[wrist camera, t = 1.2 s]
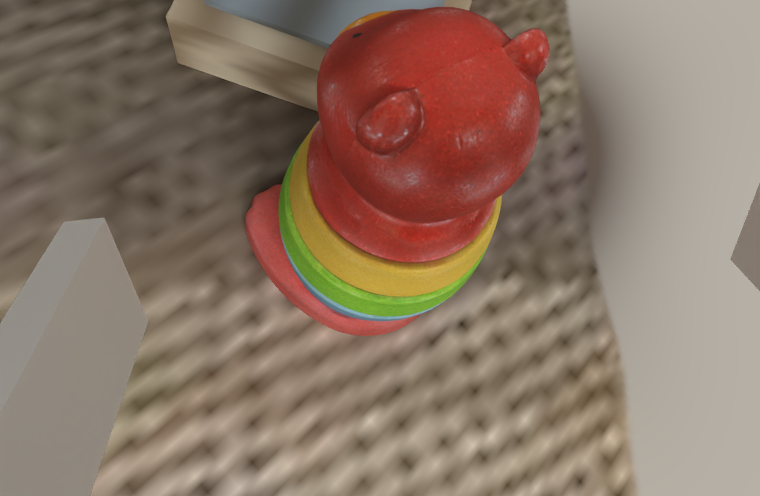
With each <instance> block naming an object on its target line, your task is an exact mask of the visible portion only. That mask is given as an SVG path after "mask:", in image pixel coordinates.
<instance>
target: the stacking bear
mask: <svg viewBox="0 0 760 496" xmlns="http://www.w3.org/2000/svg"><path fill="white" fill-rule="evenodd" d="M548 58H549V43H548V40H547V36H546V35H545V33H544V32H543V31H541V30H540V29H537V28H533V29H529V30H527V31H525V32H523V33H521V34H520V35H518V36H517V37H515V38H514V39H512V40H511V39H510V38H509V37H508V36H507V35H506V34H505V33H504V32H503V31H502V30H501V29H500V28H499V27H497V26H496V25H495V24H494V23H492V22H491V21H489V20H488V19H486V18H485V17H482V16H480V15H478V14H476V13H474V12H471V11H468V10H465V9H460V8H455V7H433V8H426V9H422V10H421V9H404V10H393V11H380V12H375V13H371V14H368V15H366V16H364V17H361V18H359V19H357V20H356V21H354V22H353V23H351V24H349V25H348V26H347V27H346V28H344V29H343V30H342V31H341V32H340V34H339V35H338V36H337V38H336V39H335V40H334V41H333V43H332V44H331V45H330V47H329V48H328V50H327V52H326V54H325V56H324V58H323V60H322V62H321V65H320V69H319V74H318V78H317V105H318V114H319V119H320V120H319V121H318V122H317V123H316V124H315V126H314V127H313V128H312V130H311V131H310V132H309V134H308V135H307V137H306V138H305V140H304V141H303V142H302V143H301V145H300V146H299V148H298V149H297V151H296V153H295V154H294V156H293V158H292V160H291V162H290V164H289V167H288V169H287V171H286V174H285V177H284V180H283V183H282V184H278V185H274V186H272V187H271V188H269V189H268V190H266V191H263V192H261V193H259V194H257V195H255V197H254V198H253V200H252V207H251V208H250V209H249V210H248V211H247V213H246V216H245V229H246V234H247V236H248V239H249V242H250V244H251V247H252V249H253V251H254V253H255V255H256V257H257V259H258V261H259V263H260V264H261V266H262V268H263V269H264V271H265V272H266V274H267V275H268V277H269V278H270V279H271V281H272V282H273V283H274V284H275V285H276V287H277V288H278V289H279V290H280V291H281V292H282V293H283V294H284V295H285V296H286V297H287V298H288V299H289V300H290V301H291V302H292V303H293V304H294V305H296V306H297V307H298V308H299V309H300V310H302V311H303V312H304V313H306V314H307V315H309V316H310V317H312V318H313V319H315V320H317V321H318V322H320V323H322V324H324V325H326V326H328V327H329V328H332V329H334V330H337V331H339V332H343V333H347V334H352V335H360V336H370V335H380V334H385V333H388V332H392V331H395V330H397V329H399V328H401V327H403V326H405V325H407V324H409V323H410V322H412V321H413V320H415V319H416V318H417V317H419V316H420V315H421V314H422V313H424V312H426V311H429V310H431V309H433V308H435V307H436V306H438V305H440V304H441V303H443V302H444V301H446V300H447V299H448V298H449V297H451V296H452V295H453V294H454V293H455V292H456V291H458V290H459V289H460V288H461V287H462V286H463V285H464V283H465V282H466V281H467V280H468V279H469V277H470V276H471V275H472V273H473V272H474V271H475V269H476V268H477V266H478V264H479V263H480V261H481V259H482V258H483V256H484V254H485V252H486V249H487V247H488V244H489V242H490V240H491V238H492V235H493V232H494V230H495V227H496V224H497V221H498V218H499V213H500V208H501V202H502V194H503V193H504V192H505V191H507V190H508V189H509V188H510V187H511V186H512V185H513V184H514V183H515V181H516V180H517V179H518V178H519V177H520V175H521V174H522V173H523V171H524V170H525V168H526V166H527V165H528V163H529V161H530V159H531V156H532V154H533V151H534V149H535V146H536V142H537V137H538V133H539V126H540V101H539V94H538V90H537V86H536V79H537V77H538V76H539V74H540V73H541V72H542V71H543V70H544V68H545V66H546V64H547V62H548Z"/></svg>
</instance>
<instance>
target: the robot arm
mask: <svg viewBox="0 0 760 496" xmlns="http://www.w3.org/2000/svg"><path fill="white" fill-rule="evenodd" d="M731 260H732V261H733V263H734V264H735V265H736V266H737V267H738V268H739V269H740V270H741V271H742V272H743V273H744V275H745V276H746V277H747V278H748V279H749V280H750V281H751V282H752V283H753V284H754V285H755V286H756V287H757V288H758V290H760V184H759V187H758V189H757V192H756V194H755V197H754V200H753V202H752V205H751V207H750V210H749V212H748V215H747V218H746V220H745V223H744V225H743V228H742V231H741V233H740V236H739V238H738V241H737V244H736V246H735V249H734V251H733V254H732V257H731ZM147 324H148V319H147V317H146V315H145V312H144V310H143V307H142V305H141V303H140V300H139V298H138V296H137V293H136V291H135V289H134V286H133V284H132V282H131V279H130V277H129V275H128V272H127V270H126V268H125V265H124V263H123V260H122V258H121V256H120V253H119V251H118V249H117V246H116V244H115V242H114V239H113V237H112V235H111V232H110V230H109V228H108V225H107V223H106V221H105V218H95V219H85V220H76V221H66V222H63V224H62V225H61V227H60V229H59V230H58V232H57V233H56V235H55V237H54V238H53V240H52V241H51V243H50V245H49V246H48V248H47V249H46V251H45V253H44V254H43V256H42V257H41V259H40V261H39V262H38V264H37V265H36V267H35V269H34V270H33V272H32V273H31V275H30V277H29V278H28V280H27V281H26V283H25V285H24V286H23V288H22V289H21V291H20V293H19V294H18V296H17V297H16V299H15V301H14V302H13V304H12V305H11V307H10V309H9V310H8V312H7V313H6V315H5V317H4V318H3V320H2V321H1V323H0V496H90V494H91V491H92V488H93V485H94V482H95V479H96V476H97V473H98V470H99V467H100V464H101V461H102V458H103V455H104V452H105V449H106V446H107V443H108V440H109V437H110V434H111V431H112V428H113V425H114V422H115V419H116V416H117V413H118V410H119V407H120V404H121V401H122V398H123V395H124V392H125V389H126V386H127V383H128V380H129V377H130V375H131V372H132V369H133V366H134V363H135V360H136V357H137V354H138V351H139V348H140V345H141V342H142V339H143V336H144V333H145V330H146V327H147Z"/></svg>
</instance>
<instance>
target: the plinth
mask: <svg viewBox="0 0 760 496" xmlns="http://www.w3.org/2000/svg"><path fill="white" fill-rule="evenodd" d="M471 2H472V0H174V2H173V4H172V5H171V7H170V9H169V11H168V13H167V15H166V19H167V23H168V27H169V31H170V35H171V38H172V42H173V46H174V50H175V54H176V58H177V61H178V63H179V64H182V65H185V66H188V67H191V68H194V69H197V70H199V71H202V72H205V73H208V74H211V75H214V76H217V77H219V78H222V79H225V80H228V81H231V82H234V83H237V84H239V85H242V86H245V87H248V88H251V89H254V90H257V91H260V92H262V93H265V94H268V95H271V96H274V97H277V98H280V99H282V100H285V101H288V102H291V103H294V104H297V105H300V106H302V107H305V108H308V109H311V110H314V111H317V112H318V105H317V78H318V74H319V69H320V65H321V62H322V60H323V58H324V56H325V54H326V52H327V50H328V48H329V47H330V45H331V44H332V43H333V41H334V40H335V39H336V38H337V36H338V35H339V34H340V32H341V31H342V30H343V29H344V28H346V27H347V26H348V25H349V24H351V23H353V22H354V21H356V20H357V19H359V18H361V17H364V16H366V15H368V14H371V13H375V12H380V11H393V10H404V9H421V10H422V9H426V8H433V7H455V8H460V9H465V10H468V11H469V8H470V5H471Z"/></svg>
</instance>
